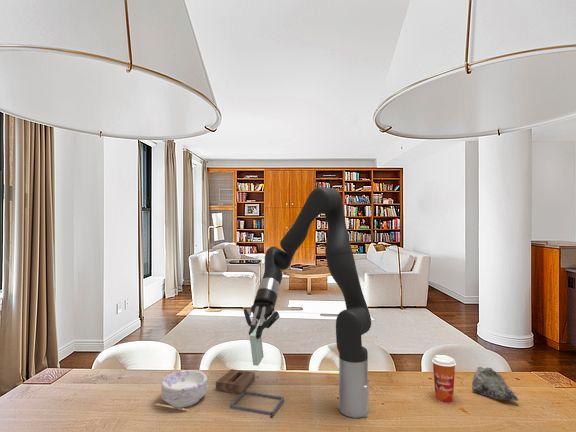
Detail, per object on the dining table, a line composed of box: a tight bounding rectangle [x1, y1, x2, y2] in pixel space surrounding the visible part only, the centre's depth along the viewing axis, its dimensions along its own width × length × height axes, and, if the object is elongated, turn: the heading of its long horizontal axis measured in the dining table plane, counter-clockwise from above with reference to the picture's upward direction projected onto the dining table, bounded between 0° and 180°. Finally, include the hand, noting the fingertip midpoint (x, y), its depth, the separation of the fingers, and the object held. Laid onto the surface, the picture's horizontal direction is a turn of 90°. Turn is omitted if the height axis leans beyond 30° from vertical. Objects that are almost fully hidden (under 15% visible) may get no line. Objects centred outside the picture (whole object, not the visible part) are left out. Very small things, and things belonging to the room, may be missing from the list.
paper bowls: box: [160, 369, 208, 409], centre depth 125 cm, size 15×15×8 cm
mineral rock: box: [471, 366, 519, 402], centre depth 128 cm, size 13×11×10 cm
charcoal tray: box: [229, 390, 285, 419], centre depth 122 cm, size 15×11×2 cm
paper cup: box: [431, 354, 457, 403], centre depth 127 cm, size 8×8×14 cm
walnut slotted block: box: [215, 368, 256, 396], centre depth 135 cm, size 10×12×4 cm
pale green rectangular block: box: [249, 327, 264, 367], centre depth 121 cm, size 2×5×11 cm, turn 162°
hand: (254, 337), depth 119 cm, fingers closed on pale green rectangular block, 1 cm apart
